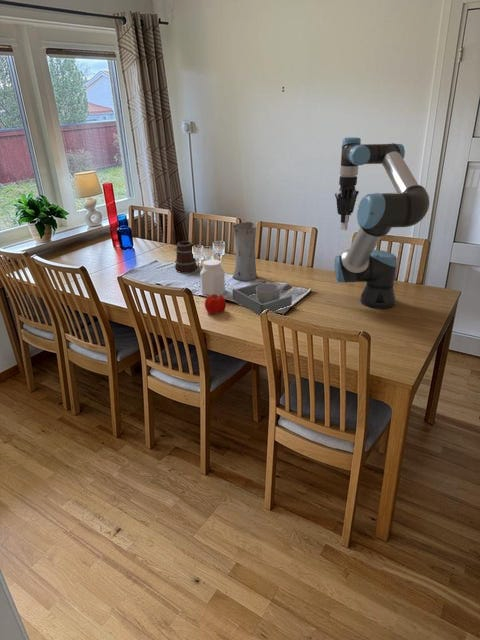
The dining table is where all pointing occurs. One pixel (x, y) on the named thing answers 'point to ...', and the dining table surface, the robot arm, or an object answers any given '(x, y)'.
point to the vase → (245, 251)
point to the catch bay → (243, 298)
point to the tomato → (215, 304)
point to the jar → (212, 278)
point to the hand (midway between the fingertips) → (343, 229)
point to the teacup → (267, 292)
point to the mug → (185, 257)
